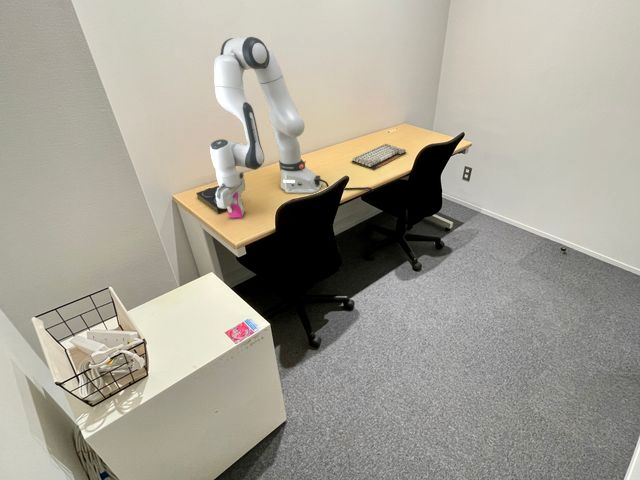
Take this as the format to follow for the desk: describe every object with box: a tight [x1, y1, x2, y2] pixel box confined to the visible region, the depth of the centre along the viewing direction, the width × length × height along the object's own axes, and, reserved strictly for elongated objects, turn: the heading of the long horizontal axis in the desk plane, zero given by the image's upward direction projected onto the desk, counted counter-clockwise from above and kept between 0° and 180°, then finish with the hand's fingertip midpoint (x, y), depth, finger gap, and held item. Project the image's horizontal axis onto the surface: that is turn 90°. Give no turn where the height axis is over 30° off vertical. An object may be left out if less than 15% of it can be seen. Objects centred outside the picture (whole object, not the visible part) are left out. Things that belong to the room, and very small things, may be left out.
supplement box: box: [227, 191, 246, 219], centre depth 151 cm, size 6×6×12 cm
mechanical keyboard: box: [351, 143, 407, 171], centre depth 213 cm, size 38×19×3 cm, turn 141°
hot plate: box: [195, 185, 228, 215], centre depth 163 cm, size 22×13×4 cm, turn 45°
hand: (235, 207), depth 152 cm, fingers closed on supplement box, 6 cm apart
